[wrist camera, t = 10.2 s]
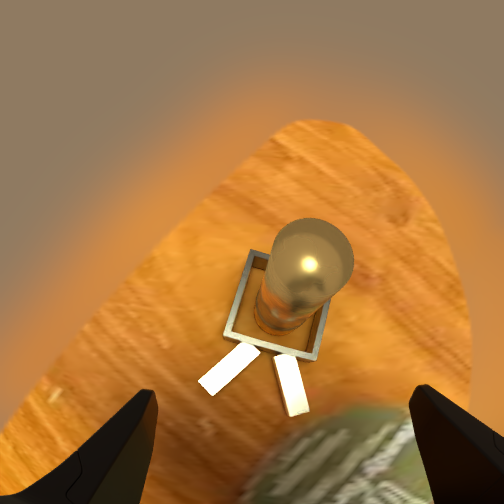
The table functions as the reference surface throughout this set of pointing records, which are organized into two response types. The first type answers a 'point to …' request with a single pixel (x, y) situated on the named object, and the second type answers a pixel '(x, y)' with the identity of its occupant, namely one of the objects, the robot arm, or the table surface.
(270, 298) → the gold metal cylinder
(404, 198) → the table surface
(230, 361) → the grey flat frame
